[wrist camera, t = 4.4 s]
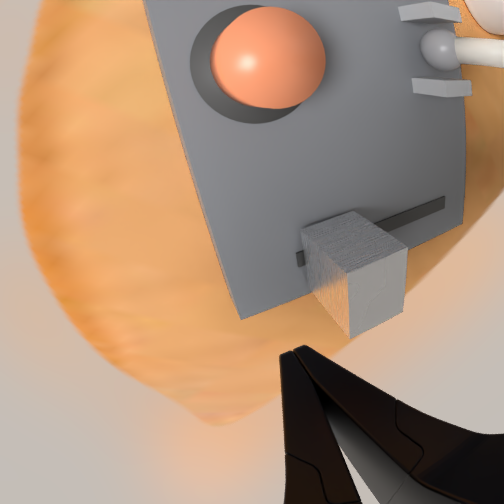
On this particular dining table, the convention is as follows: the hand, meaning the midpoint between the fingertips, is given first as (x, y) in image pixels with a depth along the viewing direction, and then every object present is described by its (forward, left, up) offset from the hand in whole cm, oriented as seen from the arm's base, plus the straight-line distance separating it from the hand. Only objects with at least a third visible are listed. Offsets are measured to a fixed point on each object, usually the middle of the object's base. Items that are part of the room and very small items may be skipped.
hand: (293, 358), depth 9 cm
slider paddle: (-4, 0, -4) cm, 6 cm away
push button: (-2, -8, -4) cm, 9 cm away
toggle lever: (-10, -8, -4) cm, 13 cm away
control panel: (-6, -5, -7) cm, 11 cm away
